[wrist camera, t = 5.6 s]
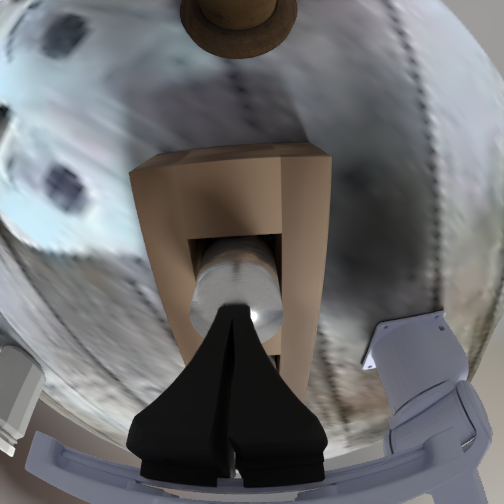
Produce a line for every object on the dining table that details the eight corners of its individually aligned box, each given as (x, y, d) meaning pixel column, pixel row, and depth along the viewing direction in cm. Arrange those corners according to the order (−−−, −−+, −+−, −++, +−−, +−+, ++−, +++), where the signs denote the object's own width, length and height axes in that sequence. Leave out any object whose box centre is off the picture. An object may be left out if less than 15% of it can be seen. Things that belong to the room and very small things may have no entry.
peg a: (274, 228, 15) (284, 278, 11) (275, 290, 18) (282, 345, 14) (197, 233, 15) (180, 283, 11) (207, 293, 18) (198, 349, 14)
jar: (0, 345, 29) (-37, 418, 14) (15, 337, 27) (-30, 426, 12) (35, 380, 34) (7, 453, 18) (56, 377, 32) (24, 465, 16)
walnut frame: (309, 142, 16) (331, 156, 12) (297, 366, 28) (303, 404, 24) (157, 154, 17) (128, 172, 12) (207, 370, 28) (204, 408, 24)
